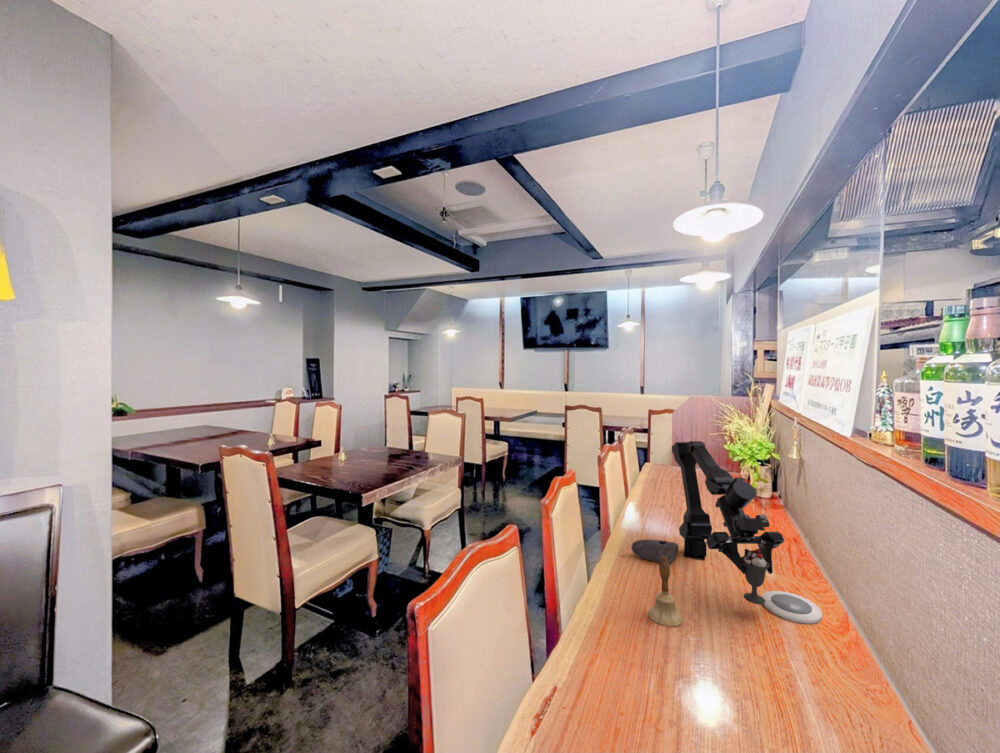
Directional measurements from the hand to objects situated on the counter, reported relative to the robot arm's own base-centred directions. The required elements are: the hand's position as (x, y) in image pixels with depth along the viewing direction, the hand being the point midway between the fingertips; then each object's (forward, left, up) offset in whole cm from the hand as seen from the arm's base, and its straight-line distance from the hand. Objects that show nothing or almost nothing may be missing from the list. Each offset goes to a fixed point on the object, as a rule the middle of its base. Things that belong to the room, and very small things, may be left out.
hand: (758, 573), depth 105 cm
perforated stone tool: (-28, +21, -12) cm, 37 cm away
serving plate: (+8, +8, -11) cm, 16 cm away
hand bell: (-22, -11, -12) cm, 27 cm away
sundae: (-1, +1, -8) cm, 8 cm away
